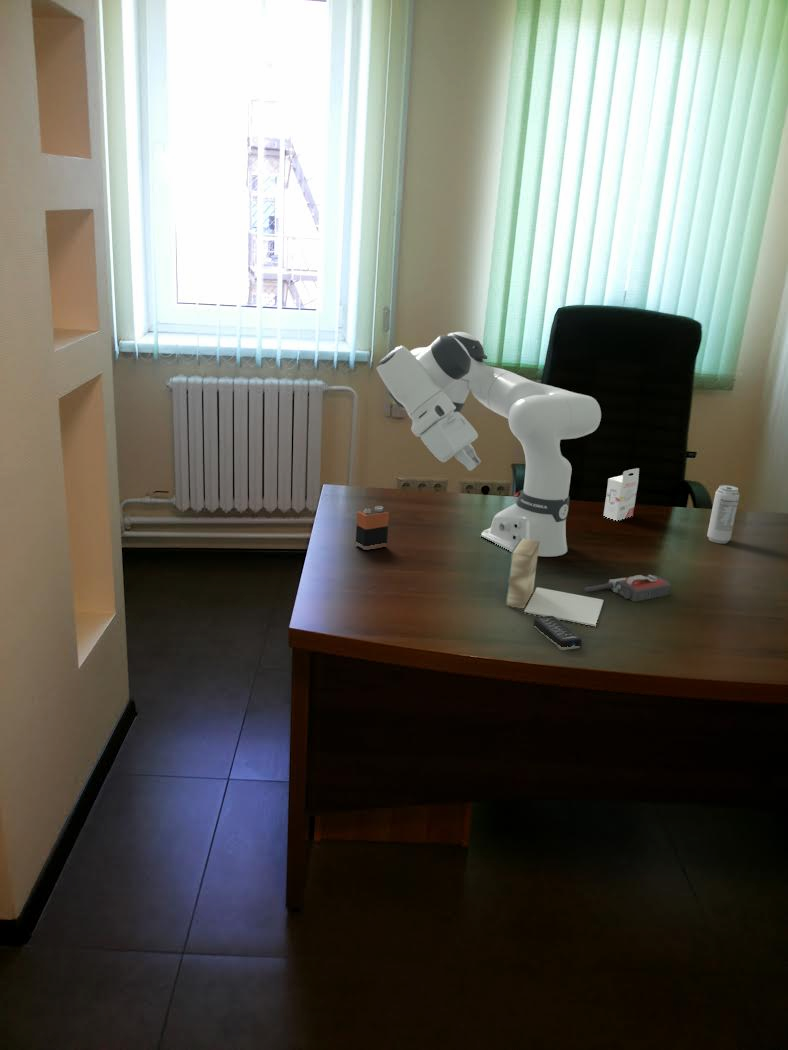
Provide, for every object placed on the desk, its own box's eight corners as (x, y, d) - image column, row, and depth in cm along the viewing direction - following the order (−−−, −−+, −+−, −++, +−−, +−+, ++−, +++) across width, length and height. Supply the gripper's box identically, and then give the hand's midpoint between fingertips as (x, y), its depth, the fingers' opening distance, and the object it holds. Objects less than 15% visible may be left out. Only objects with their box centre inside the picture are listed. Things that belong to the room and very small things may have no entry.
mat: (524, 613, 171) (524, 610, 171) (536, 589, 183) (537, 587, 183) (595, 627, 166) (595, 624, 166) (603, 602, 179) (603, 599, 179)
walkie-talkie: (646, 581, 194) (580, 593, 184) (649, 564, 192) (583, 575, 183) (674, 595, 186) (608, 608, 177) (678, 577, 185) (611, 589, 176)
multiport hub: (551, 625, 167) (553, 615, 166) (581, 650, 157) (583, 639, 157) (532, 627, 165) (533, 617, 165) (561, 652, 156) (562, 641, 155)
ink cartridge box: (618, 512, 245) (626, 464, 240) (633, 516, 242) (641, 468, 237) (601, 517, 239) (609, 467, 235) (616, 521, 236) (624, 471, 231)
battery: (387, 547, 203) (390, 508, 200) (364, 552, 199) (366, 512, 196) (377, 542, 206) (379, 503, 203) (354, 546, 202) (356, 507, 199)
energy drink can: (726, 537, 228) (736, 485, 223) (732, 545, 222) (743, 491, 218) (703, 535, 229) (714, 483, 224) (709, 543, 223) (720, 489, 218)
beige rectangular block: (505, 605, 174) (511, 552, 170) (515, 589, 183) (521, 538, 179) (523, 609, 173) (530, 555, 169) (532, 592, 182) (539, 541, 178)
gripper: (438, 416, 184) (476, 465, 184) (408, 432, 165) (451, 486, 165) (459, 398, 181) (498, 448, 181) (431, 412, 162) (474, 468, 163)
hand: (475, 466), depth 173 cm, fingers closed
